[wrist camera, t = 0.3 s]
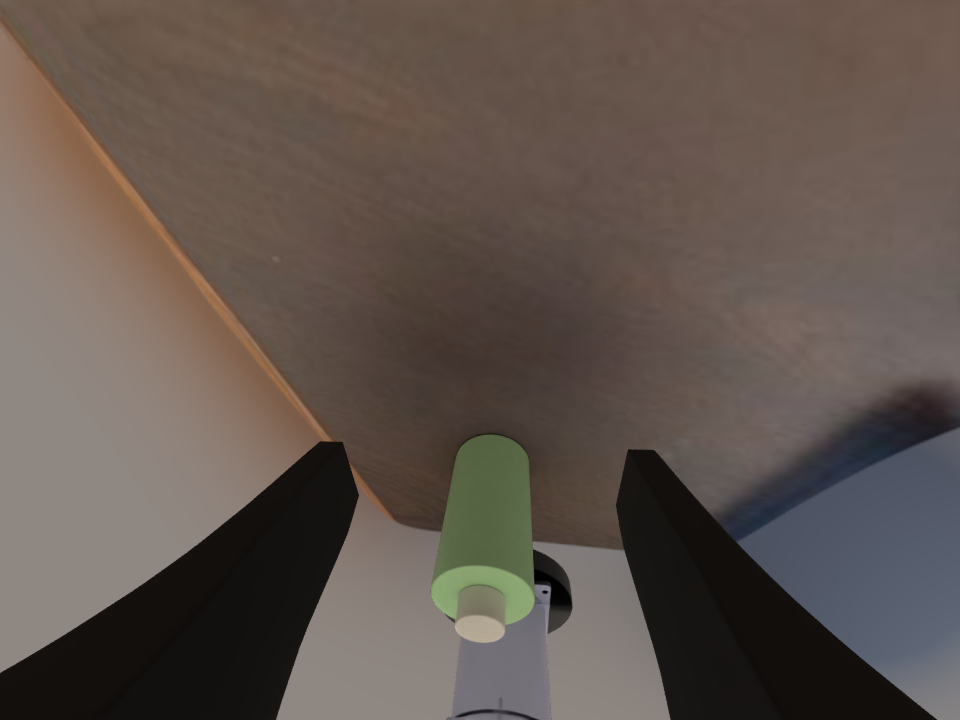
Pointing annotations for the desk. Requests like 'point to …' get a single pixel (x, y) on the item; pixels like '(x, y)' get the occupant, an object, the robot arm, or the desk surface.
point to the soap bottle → (486, 540)
